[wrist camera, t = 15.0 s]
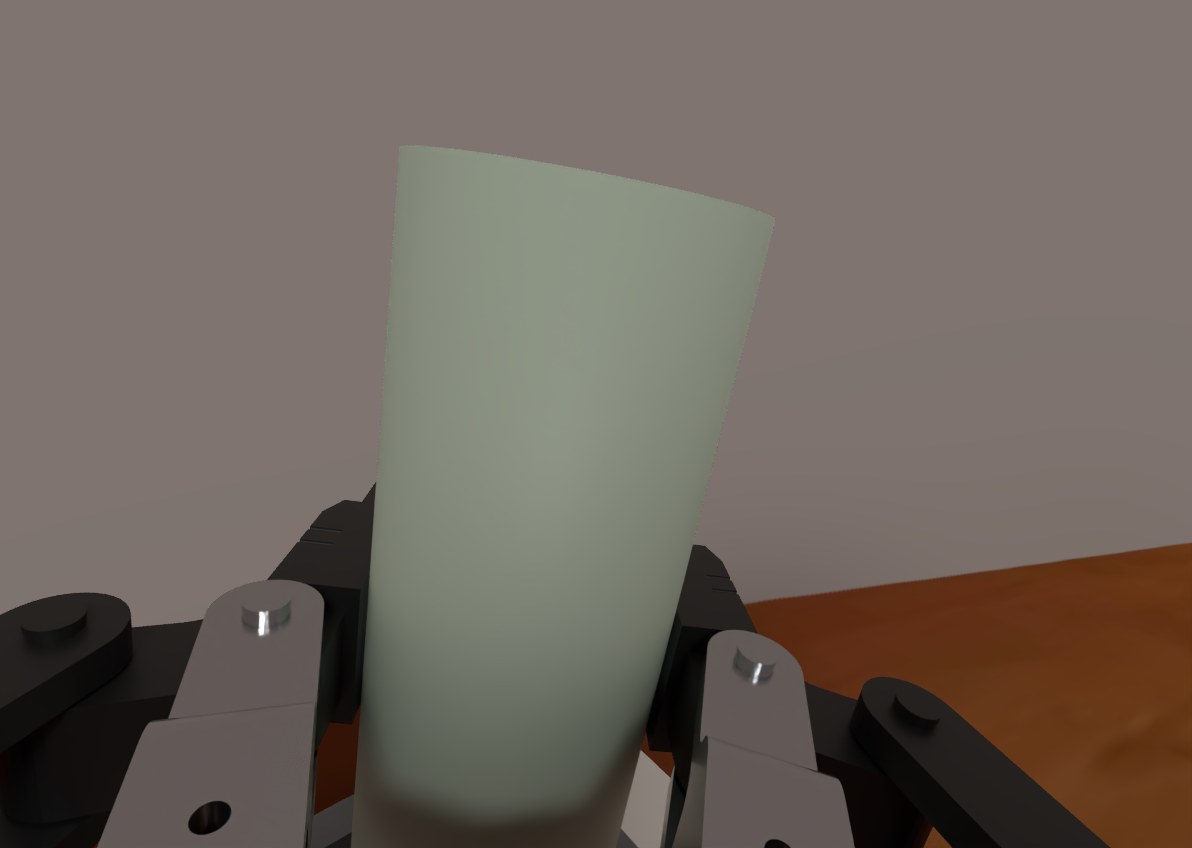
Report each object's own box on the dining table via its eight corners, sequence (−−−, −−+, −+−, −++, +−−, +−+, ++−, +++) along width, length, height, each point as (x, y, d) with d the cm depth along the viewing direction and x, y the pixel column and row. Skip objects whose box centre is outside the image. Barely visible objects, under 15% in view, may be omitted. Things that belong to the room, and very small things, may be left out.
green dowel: (403, 1289, 9) (577, 155, 4) (299, 1007, 12) (333, 139, 7) (606, 1050, 12) (842, 235, 7) (485, 871, 15) (596, 201, 10)
